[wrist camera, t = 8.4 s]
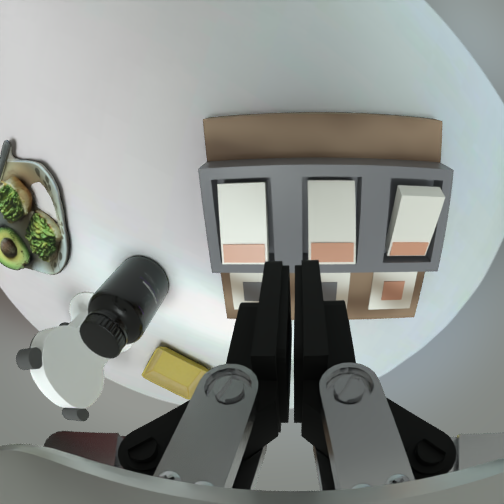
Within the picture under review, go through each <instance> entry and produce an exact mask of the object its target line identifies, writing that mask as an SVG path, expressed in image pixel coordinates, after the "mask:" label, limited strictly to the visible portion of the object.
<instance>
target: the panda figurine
mask: <svg viewBox="0 0 504 504" xmlns="http://www.w3.org/2000/svg"><path fill="white" fill-rule="evenodd" d="M93 294H94V293H92V292H82V293H79V294H77V295H76V296H74V298H73V299H72V300H71V302H70V306H69V312H70V317H71V320H72V321H71V322H70V323H66V322H64V323H61V324H60V325H59V326H58V327H54V328H49V329H45V330H42V331H40V332H38V333H37V334H36V335H35V336H34V338H33V339H32V341H31V344H30V348H28V349H22V350H20V351H19V352H18V353H17V356H16V362H17V365H18V367H19V368H20V369H22V370H30V372H31V375H32V377H33V379H34V381H35V383H36V385H37V386H38V388H39V389H40V390H41V391H42V393H43V394H44V395H45V396H46V397H47V398H48V399H49V400H51V401H52V402H53V403H54V404H56V405H58V406H60V407H64V408H63V410H62V414H63V416H64V418H66V419H67V420H76V421H86V420H87V418H88V417H89V412H88V411H87V410H86V409H84V408H87V407H89V406H90V405H92V404H93V403H94V402H95V401H96V400H97V399H98V397H99V396H100V394H101V392H102V389H103V386H104V370H103V367H104V366H105V364H106V362H107V361H108V359H109V358H105V357H102V356H99V355H97V354H95V353H94V352H92V351H91V350H90V349H89V348H88V347H87V346H86V345H85V343H84V342H83V340H82V339H81V336H80V332H79V331H80V329H79V328H80V325H81V324H82V323H83V321H84V320H85V318H86V317H87V315H88V303H89V300H90V298H91V297H92V296H93ZM132 344H133V343H132ZM132 344H128V345H125V347H124V348H123V349H122V350H121V352H124V351H126V350H128V349H129V348H130V347H131V346H132ZM121 352H120V353H121Z"/></svg>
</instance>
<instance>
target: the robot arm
mask: <svg viewBox="0 0 504 504" xmlns="http://www.w3.org/2000/svg"><path fill="white" fill-rule="evenodd" d="M291 345H292V324H291V294H290V269H289V265H283V262H282V261H265V264H264V270H263V277H262V284H261V290H260V297H259V302H241V303H240V305H239V309H238V313H237V318H236V322H235V326H234V331H233V335H232V340H231V344H230V348H229V353H228V357H227V362H226V364H224V365H219V366H217V367H214V368H212V369H210V370H209V371H208V372H206V373H205V374H204V375H203V377H202V378H201V379H200V381H199V383H198V385H197V387H196V389H195V391H194V393H193V395H192V397H191V400H189V401H187V402H186V403H184V404H182V405H180V406H179V407H177V408H175V409H173V410H171V411H170V412H168V413H166V414H164V415H162V416H161V417H159V418H157V419H155V420H153V421H151V422H150V423H148V424H146V425H144V426H142V427H140V428H138V429H136V430H134V431H132V432H131V433H130V434H128V435H127V436H120V435H119V433H94V432H92V433H91V432H73V431H58V432H56V433H54V434H52V435H51V436H49V438H47V440H46V441H45V444H44V446H39V445H32V444H9V445H2V446H0V504H504V433H483V434H459V435H458V436H457V437H449V436H448V435H447V434H445V433H444V432H443V431H441V430H439V429H437V428H436V427H434V426H432V425H431V424H429V423H427V422H426V421H424V420H422V419H421V418H419V417H417V416H415V415H414V414H412V413H411V412H409V411H407V410H406V409H404V408H403V407H401V406H399V405H398V404H396V403H394V402H393V401H391V400H389V399H388V398H386V396H385V394H384V391H383V389H382V386H381V383H380V381H379V379H378V377H377V375H376V374H375V373H374V372H373V371H372V370H371V369H370V368H368V367H366V366H364V365H362V364H358V363H356V361H355V355H354V349H353V342H352V337H351V331H350V325H349V320H348V314H347V309H346V304H345V301H344V300H334V301H323V292H322V283H321V275H320V266H319V260H301V265H295V312H294V423H302V430H301V431H302V437H304V438H305V439H306V440H307V441H308V442H310V443H311V444H312V445H313V452H314V458H315V463H316V470H317V475H318V481H319V487H320V491H262V490H254V489H255V486H256V483H257V479H258V476H259V473H260V470H261V466H262V463H263V460H264V456H265V453H266V449H267V444H268V443H269V442H270V441H272V440H273V439H275V438H276V437H277V436H278V432H280V431H281V423H288V419H289V418H288V417H289V398H290V375H291Z"/></svg>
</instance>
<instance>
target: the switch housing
mask: <svg viewBox="0 0 504 504" xmlns="http://www.w3.org/2000/svg"><path fill="white" fill-rule="evenodd" d="M453 171H454V170H452V169H451V168H449V167H447V166H446V165H444V164H442V163H440V162H428V161H414V160H396V159H373V158H267V159H243V160H225V161H210V162H206V163H205V164H204V165H203V166H201V167H200V168H199V169H198V172H199V180H200V188H201V196H202V204H203V212H204V219H205V226H206V234H207V241H208V248H209V255H210V262H211V268H212V273H263V270H264V264H222V252H221V237H220V221H219V205H218V187H217V184H220V183H236V182H264V181H267V208H268V238H269V261H282V262H283V265H289V269H290V273H295V265H301V260H308V196H307V181H308V180H349V181H355V206H356V263H355V264H319V266H320V273H368V272H426V271H438V267H439V262H440V257H441V252H442V247H443V242H444V237H445V231H446V225H447V219H448V212H449V205H450V198H451V190H452V181H453ZM398 185H407V186H428V187H440V188H441V190H442V192H443V194H444V196H445V200H444V203H443V206H442V209H441V212H440V215H439V218H438V221H437V224H436V227H435V230H434V233H433V236H432V239H431V241H430V244H429V247H428V250H427V252H426V255H425V256H387V253H386V249H385V241H386V237H387V233H388V228H389V224H390V220H391V215H392V211H393V206H394V201H395V196H396V191H397V186H398Z"/></svg>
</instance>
